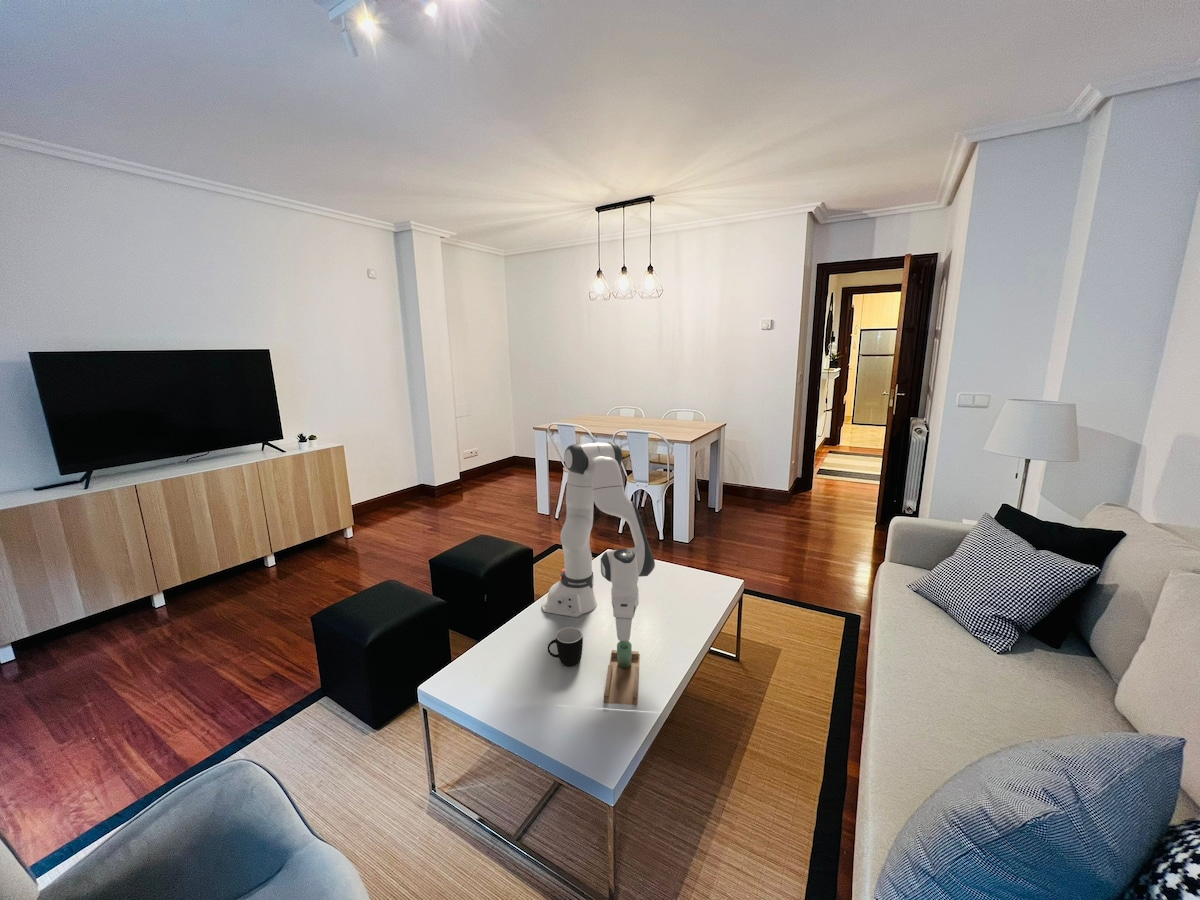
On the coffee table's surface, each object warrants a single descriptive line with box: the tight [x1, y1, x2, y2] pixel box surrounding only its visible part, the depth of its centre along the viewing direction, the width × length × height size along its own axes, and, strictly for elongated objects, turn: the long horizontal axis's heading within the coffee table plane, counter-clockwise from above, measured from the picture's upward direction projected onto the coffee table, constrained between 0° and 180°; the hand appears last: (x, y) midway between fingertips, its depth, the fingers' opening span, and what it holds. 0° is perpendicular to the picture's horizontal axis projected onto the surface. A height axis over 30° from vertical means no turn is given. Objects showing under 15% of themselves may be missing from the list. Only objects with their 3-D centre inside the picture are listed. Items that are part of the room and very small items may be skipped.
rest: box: [603, 649, 641, 706], centre depth 155 cm, size 10×24×3 cm, turn 173°
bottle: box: [616, 640, 633, 669], centre depth 158 cm, size 5×5×14 cm
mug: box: [547, 626, 584, 668], centre depth 162 cm, size 12×9×10 cm
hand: (625, 636), depth 160 cm, fingers closed
